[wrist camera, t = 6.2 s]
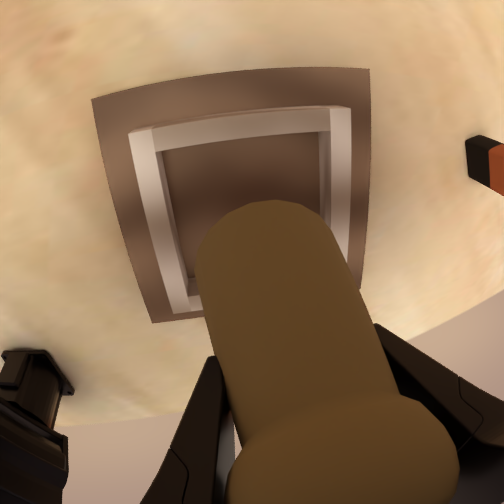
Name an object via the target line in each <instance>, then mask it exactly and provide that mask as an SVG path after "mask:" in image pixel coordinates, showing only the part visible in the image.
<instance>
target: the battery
mask: <svg viewBox="0 0 504 504" xmlns="http://www.w3.org/2000/svg"><path fill="white" fill-rule="evenodd" d="M466 150H467V159H468V170H469V177H470V178H472V179H474V180H476V181H478V182H480V183H481V184H483V185H485V186H487V187H489V188H490V189H492V190H494V191H496V192H497V193H499V194H501V195H502V196H504V144H503V143H500V142H498V141H495V140H493V139H490V138H487V137H485V136H482V135H479V136H476V137H473V138H471V139H469V140H467V141H466Z"/></svg>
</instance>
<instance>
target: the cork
mask: <svg viewBox="0 0 504 504" xmlns="http://www.w3.org/2000/svg"><path fill="white" fill-rule="evenodd" d="M194 272H195V277H196V281H197V286H198V290H199V295H200V299H201V303H202V307H203V311H204V315H205V319H206V323H207V327H208V331H209V335H210V339H211V343H212V347H213V350H214V354H215V355H216V356H217V358H218V361H219V363H220V366H221V369H222V372H223V376H224V383H225V390H226V397H227V400H228V404H229V408H230V411H231V414H232V418H233V421H234V424H235V427H236V431H237V434H238V437H239V441H240V444H241V447H242V450H241V452H240V454H239V455H238V457H237V458H236V460H235V461H234V463H233V465H232V467H231V469H230V471H229V473H228V475H227V481H226V487H225V493H224V504H449V502H450V501H451V499H452V498H453V496H454V495H455V493H456V490H457V485H458V478H459V471H460V466H459V461H458V456H457V451H456V446H455V444H454V442H453V441H452V439H451V437H450V435H449V433H448V432H447V430H446V428H445V427H444V425H443V424H442V423H441V422H440V421H439V420H438V419H437V418H436V417H435V416H434V415H433V414H432V413H431V412H430V411H429V410H428V409H427V408H426V407H425V406H424V405H422V404H421V403H420V402H419V401H416V400H413V399H410V398H408V397H405V396H402V395H400V393H399V391H398V388H397V385H396V382H395V379H394V377H393V374H392V371H391V369H390V366H389V363H388V361H387V358H386V355H385V353H384V350H383V348H382V345H381V342H380V340H379V337H378V335H377V332H376V330H375V327H374V325H373V322H372V320H371V318H370V315H369V313H368V310H367V308H366V306H365V303H364V301H363V299H362V296H361V294H360V292H359V289H358V287H357V285H356V282H355V280H354V278H353V276H352V273H351V271H350V269H349V267H348V265H347V262H346V260H345V258H344V256H343V254H342V251H341V249H340V247H339V245H338V243H337V241H336V239H335V237H334V234H333V232H332V230H331V229H330V228H329V227H328V225H327V224H326V223H325V222H324V220H323V219H322V218H321V217H320V216H319V215H318V214H317V213H315V212H313V211H311V210H310V209H308V208H306V207H304V206H303V205H301V204H298V203H293V202H287V201H282V200H268V201H260V202H253V203H249V204H247V205H245V206H242V207H240V208H238V209H236V210H234V211H232V212H229V213H227V214H226V215H225V216H224V217H223V218H222V219H220V220H219V221H218V222H217V223H216V224H215V225H214V226H213V227H211V228H210V229H209V230H208V232H207V234H206V236H205V237H204V239H203V241H202V243H201V244H200V246H199V248H198V250H197V255H196V261H195V268H194Z"/></svg>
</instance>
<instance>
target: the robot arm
mask: <svg viewBox="0 0 504 504" xmlns="http://www.w3.org/2000/svg"><path fill="white" fill-rule="evenodd" d="M373 325H374V327H375V330H376V332H377V335H378V337H379V340H380V342H381V345H382V348H383V350H384V353H385V355H386V358H387V361H388V363H389V366H390V369H391V371H392V374H393V377H394V379H395V382H396V385H397V388H398V391H399V393H400V395H402V396H405V397H408V398H410V399H413V400H416V401H419V402H420V403H421V404H422V405H424V406H425V407H426V408H427V409H428V410H429V411H430V412H431V413H432V414H433V415H434V416H435V417H436V418H437V419H438V420H439V421H440V422H441V423H442V424H443V425H444V427H445V428H446V430H447V432H448V433H449V435H450V437H451V439H452V441H453V442H454V444H455V446H456V451H457V456H458V461H459V466H460V471H459V478H458V485H457V490H456V493H455V495H454V496H453V498H452V499H451V501H450V502H449V504H504V401H502V400H500V399H498V398H496V397H494V396H492V395H490V394H489V393H487V392H485V391H483V390H481V389H479V388H478V387H476V386H474V385H473V384H471V383H470V382H468V381H466V380H465V379H463V378H462V377H460V376H459V377H458V375H457V374H455V373H454V372H452V371H451V370H449V369H448V368H446V367H445V366H443V365H442V364H440V363H438V362H437V361H435V360H434V359H432V358H431V357H429V356H428V355H426V354H425V353H423V352H421V351H420V350H418V349H416V348H415V347H414V346H412V345H411V344H409V343H407V342H406V341H404V340H403V339H401V338H400V337H398V336H397V335H395V334H393V333H392V332H390V331H389V330H387V329H386V328H384V327H382V326H381V325H379V324H377V323H375V324H373ZM1 357H2V359H3V360H4V361H5V363H4V366H3V368H2V370H1V372H0V504H62V491H63V488H64V487H65V485H66V482H67V478H68V472H69V466H68V437H67V436H65V435H61V434H60V433H57V432H56V431H54V430H53V429H54V424H55V420H56V416H57V412H58V408H59V404H60V400H61V397H62V395H71V396H72V395H74V389H73V388H72V386H71V385H70V384H69V382H68V381H67V380H66V378H65V377H64V375H63V374H62V373H61V371H60V370H59V368H58V367H57V365H56V364H55V362H54V361H53V359H52V358H51V356H50V355H49V354H48V353H47V352H46V351H7V352H2V355H1ZM170 448H171V449H170ZM170 448H169V449H168V452H167V454H166V456H165V459H164V461H163V463H162V465H161V467H160V469H159V471H158V473H157V475H156V477H155V479H154V480H153V482H152V484H151V486H150V487H149V489H148V491H147V493H146V494H145V496H144V498H143V499H142V501H141V502H140V504H224V493H225V487H226V481H227V475H228V473H229V471H230V469H231V467H232V465H233V463H234V461H235V442H234V421H233V418H232V414H231V411H230V408H229V404H228V400H227V397H226V390H225V383H224V376H223V372H222V369H221V366H220V363H219V361H218V358H217V356H216V355H215V356H209V357H208V358H207V360H206V362H205V364H204V367H203V369H202V372H201V374H200V376H199V379H198V381H197V383H196V386H195V388H194V390H193V393H192V395H191V397H190V400H189V402H188V405H187V407H186V409H185V412H184V414H183V416H182V419H181V421H180V423H179V426H178V428H177V430H176V433H175V435H174V437H173V440H172V442H171V445H170Z"/></svg>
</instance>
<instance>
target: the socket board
mask: <svg viewBox="0 0 504 504" xmlns="http://www.w3.org/2000/svg"><path fill="white" fill-rule="evenodd" d="M91 100H92V106H93V112H94V118H95V123H96V128H97V134H98V139H99V143H100V148H101V153H102V157H103V162H104V166H105V171H106V175H107V179H108V183H109V187H110V191H111V195H112V199H113V203H114V206H115V210H116V214H117V217H118V221H119V224H120V228H121V231H122V235H123V238H124V241H125V245H126V248H127V251H128V254H129V258H130V261H131V264H132V267H133V270H134V273H135V276H136V279H137V282H138V285H139V288H140V291H141V294H142V296H143V299H144V302H145V305H146V307H147V310H148V313H149V316H150V318H151V321H152V323H159V322H167V321H175V320H183V319H190V318H197V317H204V316H205V315H204V311H203V307H202V303H201V299H200V295H199V290H198V286H197V281H196V277H195V272H194V268H195V261H196V255H197V250H198V248H199V246H200V244H201V243H202V241H203V239H204V237H205V236H206V234H207V232H208V230H209V229H210V228H211V227H213V226H214V225H215V224H216V223H217V222H218V221H219V220H220V219H222V218H223V217H224V216H225V215H226V214H227V213H229V212H232V211H234V210H236V209H238V208H240V207H242V206H245V205H247V204H249V203H253V202H260V201H268V200H282V201H287V202H293V203H298V204H301V205H303V206H304V207H306V208H308V209H310V210H311V211H313V212H315V213H317V214H318V215H319V216H320V217H321V218H322V219H323V220H324V222H325V223H326V224H327V225H328V227H329V228H330V229H331V230H332V232H333V234H334V237H335V239H336V241H337V243H338V245H339V247H340V249H341V251H342V254H343V256H344V258H345V260H346V262H347V265H348V267H349V269H350V271H351V273H352V276H353V278H354V280H355V282H356V285H357V287H358V289H360V288H361V280H362V272H363V263H364V253H365V243H366V232H367V219H368V204H369V186H370V160H371V98H370V72H369V69H362V68H338V67H295V68H271V69H256V70H244V71H234V72H225V73H216V74H208V75H201V76H195V77H188V78H182V79H176V80H171V81H165V82H160V83H155V84H150V85H146V86H141V87H137V88H132V89H128V90H124V91H120V92H116V93H112V94H108V95H105V96H101V97H98V98H94V99H91Z"/></svg>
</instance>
